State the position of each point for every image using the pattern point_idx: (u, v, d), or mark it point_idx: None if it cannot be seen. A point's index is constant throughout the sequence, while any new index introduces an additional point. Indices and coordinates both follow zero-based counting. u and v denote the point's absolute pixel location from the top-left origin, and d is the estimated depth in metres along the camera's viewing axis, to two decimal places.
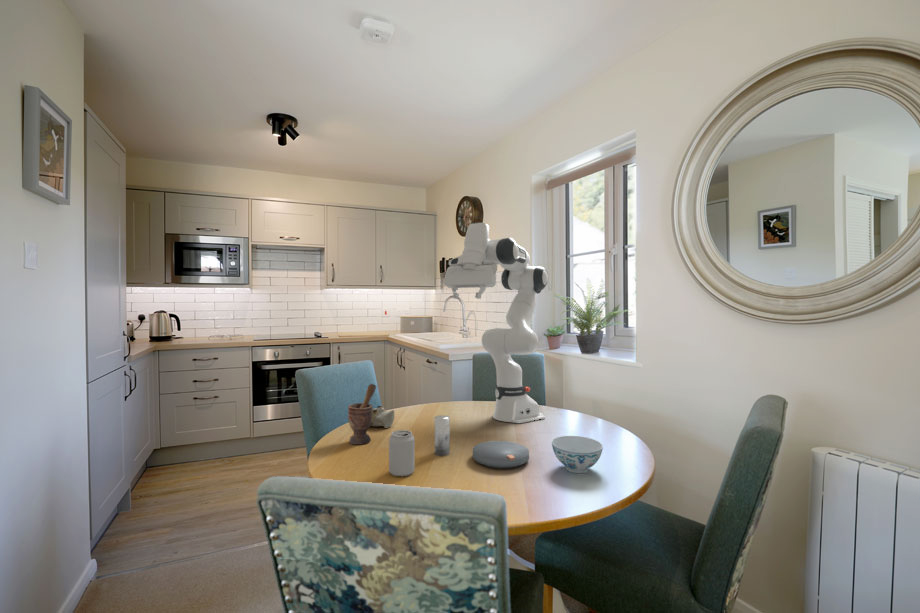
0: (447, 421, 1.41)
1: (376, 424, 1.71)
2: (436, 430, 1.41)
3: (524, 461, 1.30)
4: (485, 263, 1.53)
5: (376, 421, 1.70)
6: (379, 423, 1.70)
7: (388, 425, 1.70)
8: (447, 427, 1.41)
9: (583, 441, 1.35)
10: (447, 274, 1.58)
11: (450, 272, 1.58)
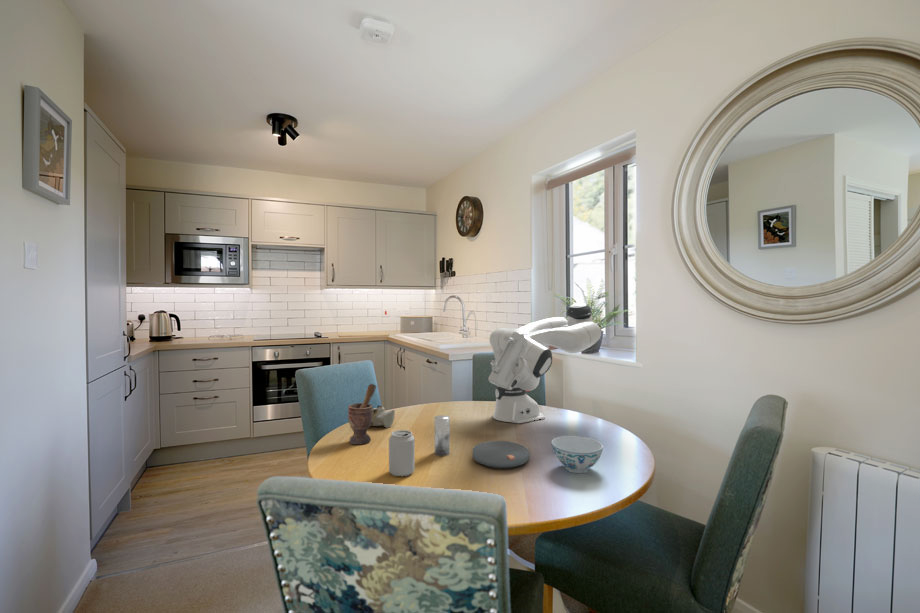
0: (447, 421, 1.41)
1: (376, 424, 1.71)
2: (436, 430, 1.41)
3: (524, 461, 1.30)
4: None
5: (376, 420, 1.70)
6: (379, 423, 1.70)
7: (388, 424, 1.70)
8: (447, 427, 1.41)
9: (583, 441, 1.35)
10: None
11: None
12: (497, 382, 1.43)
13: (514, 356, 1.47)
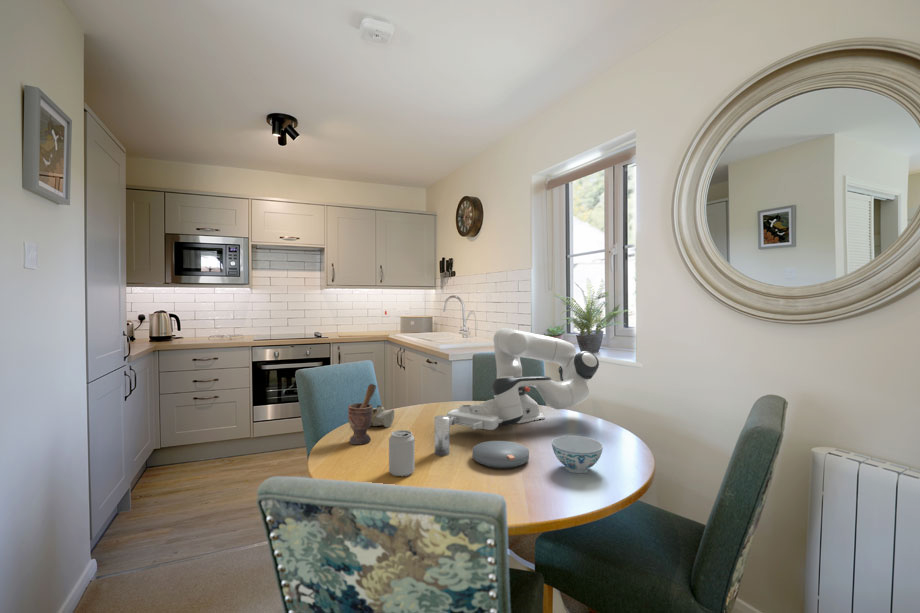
0: (447, 421, 1.41)
1: (376, 423, 1.71)
2: (436, 430, 1.41)
3: (524, 461, 1.30)
4: None
5: (376, 420, 1.70)
6: (379, 422, 1.71)
7: (388, 424, 1.71)
8: (447, 427, 1.41)
9: (583, 441, 1.35)
10: (454, 410, 1.64)
11: (457, 410, 1.64)
12: None
13: None
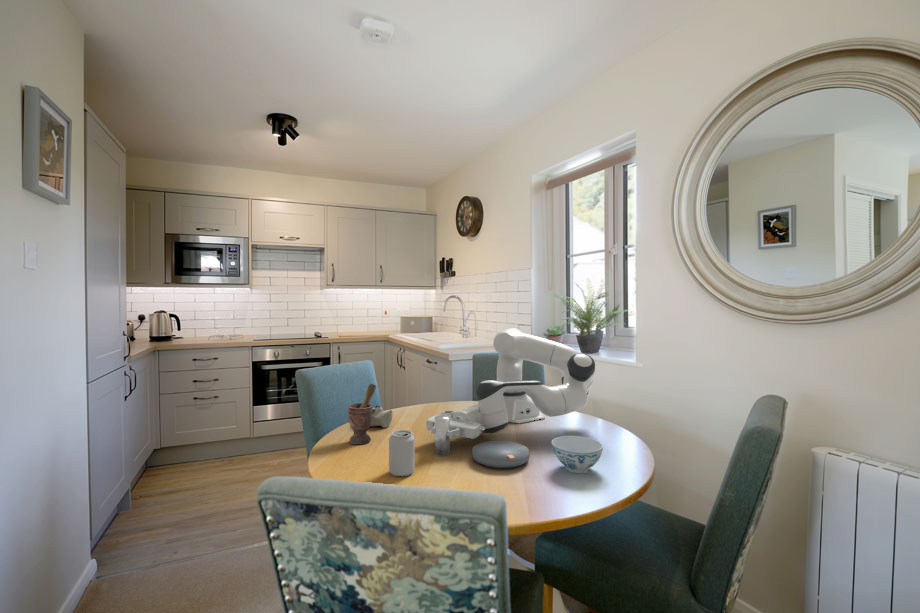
0: (447, 421, 1.41)
1: (374, 424, 1.71)
2: (436, 430, 1.41)
3: (524, 461, 1.30)
4: None
5: (374, 420, 1.70)
6: (377, 423, 1.70)
7: (386, 425, 1.70)
8: (447, 427, 1.41)
9: (583, 441, 1.35)
10: (434, 416, 1.54)
11: None
12: None
13: None
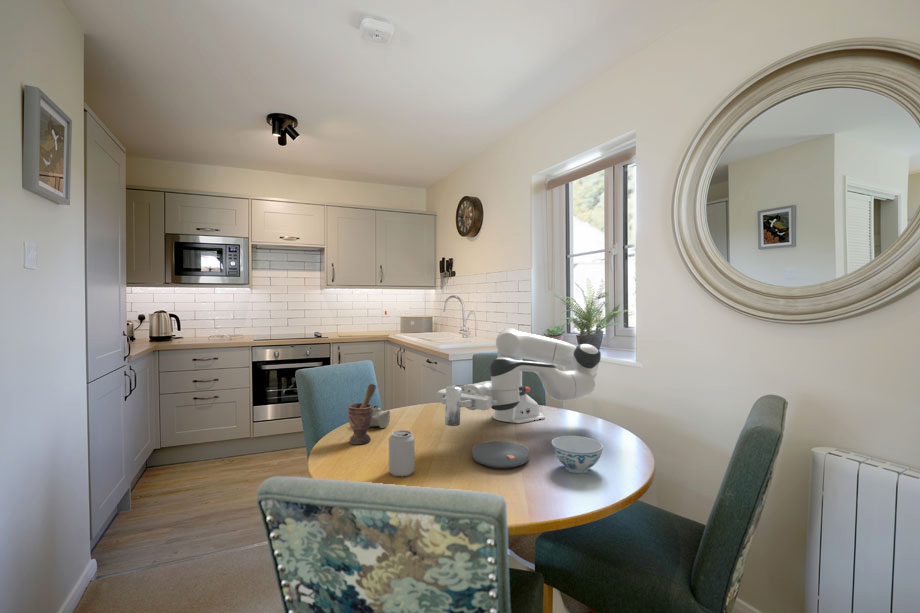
0: (459, 391, 1.39)
1: (372, 424, 1.71)
2: (447, 400, 1.38)
3: (524, 461, 1.30)
4: None
5: (372, 421, 1.70)
6: (375, 423, 1.70)
7: (383, 425, 1.69)
8: (458, 397, 1.39)
9: (583, 441, 1.35)
10: (445, 389, 1.51)
11: None
12: (438, 401, 1.49)
13: None
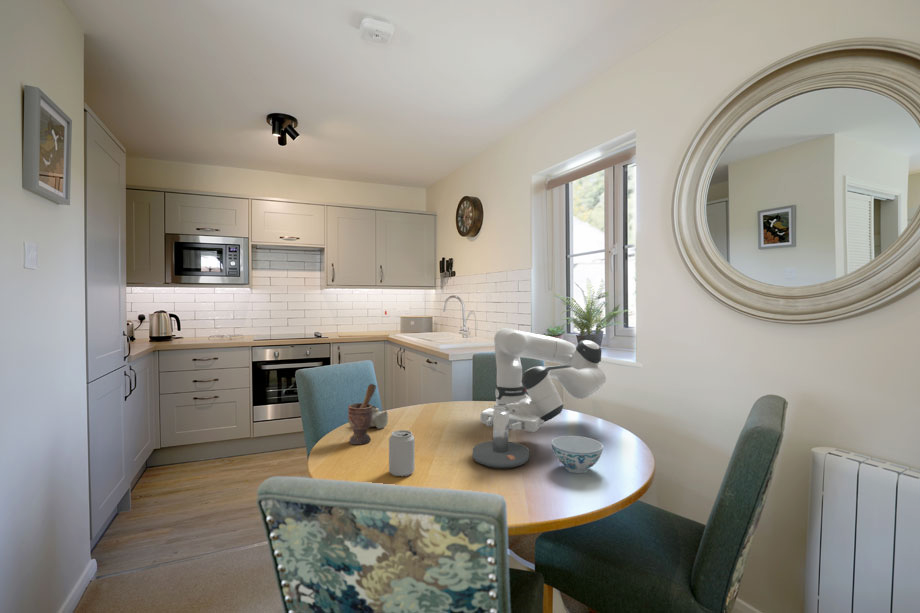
0: (507, 417, 1.34)
1: None
2: (496, 426, 1.34)
3: (524, 461, 1.30)
4: None
5: None
6: (372, 423, 1.69)
7: (381, 426, 1.69)
8: (507, 423, 1.34)
9: (583, 441, 1.35)
10: (488, 409, 1.47)
11: (492, 410, 1.48)
12: (482, 422, 1.45)
13: None
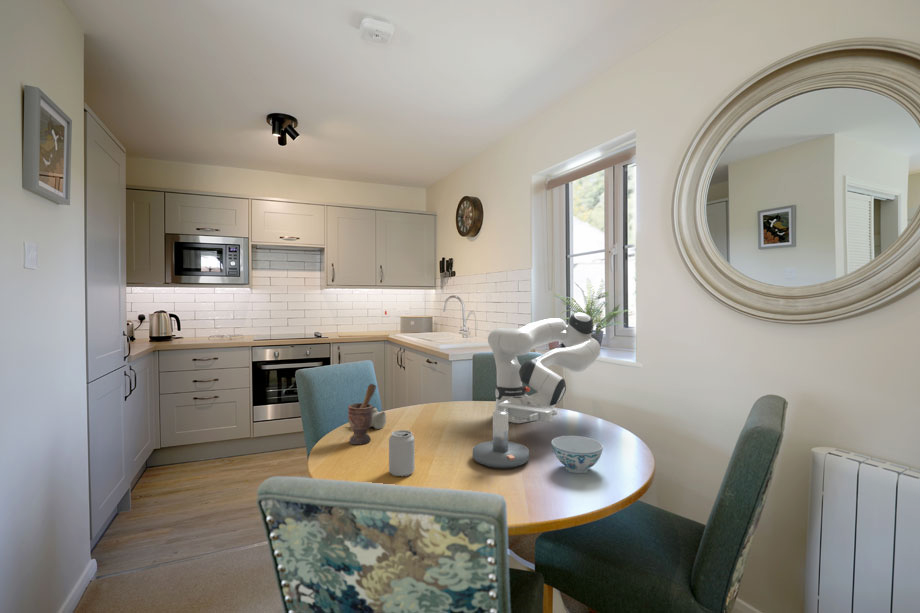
0: (506, 416, 1.35)
1: None
2: (495, 426, 1.34)
3: (524, 461, 1.30)
4: None
5: None
6: None
7: (378, 426, 1.68)
8: (506, 423, 1.35)
9: (583, 441, 1.35)
10: (504, 402, 1.58)
11: (508, 402, 1.59)
12: None
13: None
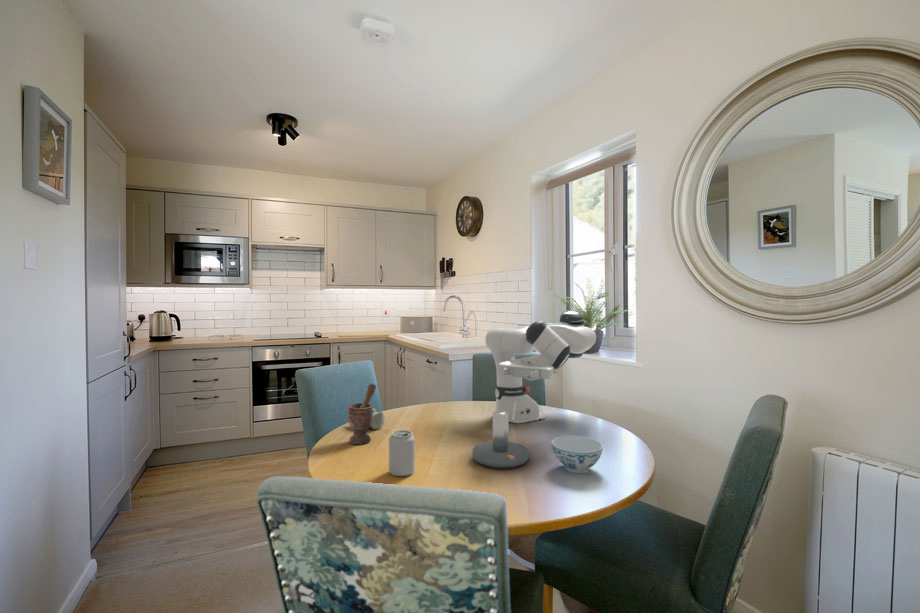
0: (506, 416, 1.34)
1: None
2: (495, 426, 1.34)
3: (524, 461, 1.30)
4: None
5: None
6: None
7: (376, 426, 1.68)
8: (506, 423, 1.35)
9: (583, 441, 1.35)
10: (505, 362, 1.58)
11: (508, 362, 1.58)
12: (500, 374, 1.56)
13: None
